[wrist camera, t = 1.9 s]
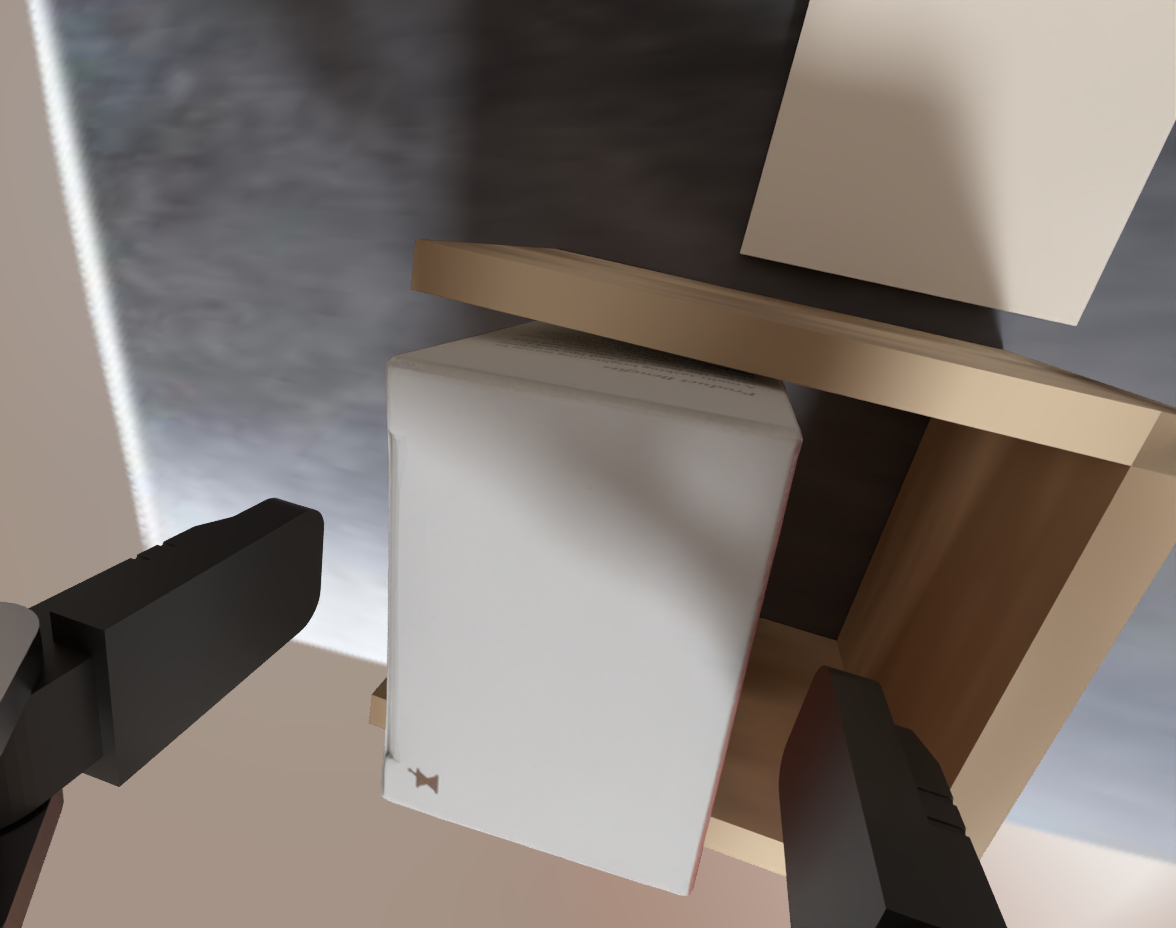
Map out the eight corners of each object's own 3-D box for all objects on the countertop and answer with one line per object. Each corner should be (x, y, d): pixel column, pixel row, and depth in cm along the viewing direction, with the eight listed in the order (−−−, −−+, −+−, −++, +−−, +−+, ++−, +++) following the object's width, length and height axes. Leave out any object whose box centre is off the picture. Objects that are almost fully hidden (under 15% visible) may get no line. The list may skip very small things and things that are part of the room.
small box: (717, 587, 19) (692, 917, 10) (548, 549, 20) (372, 813, 11) (774, 333, 17) (820, 433, 7) (576, 303, 18) (374, 354, 8)
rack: (1004, 350, 15) (1244, 430, 8) (860, 671, 19) (935, 932, 12) (555, 248, 17) (415, 239, 10) (501, 559, 21) (369, 722, 13)
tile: (1253, -78, 12) (1278, -94, 12) (1064, 323, 15) (1076, 326, 14) (844, -126, 13) (849, -143, 13) (740, 253, 16) (739, 253, 16)
